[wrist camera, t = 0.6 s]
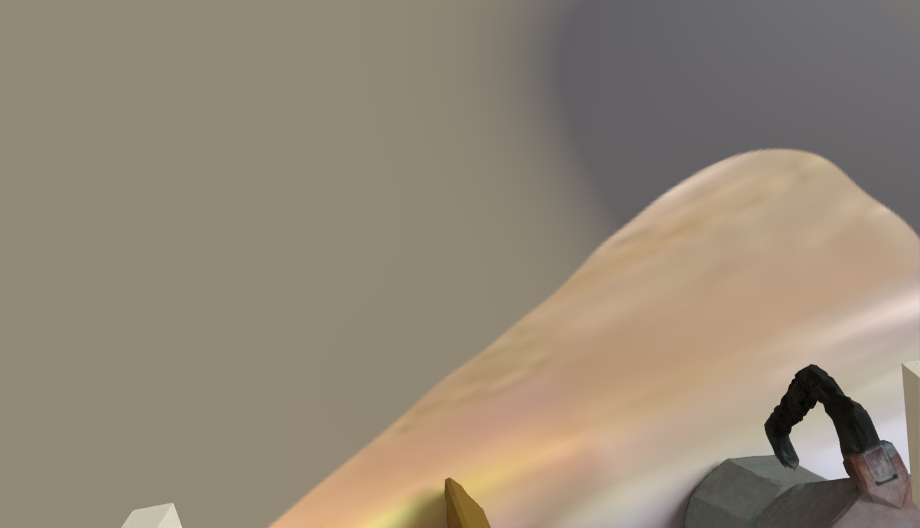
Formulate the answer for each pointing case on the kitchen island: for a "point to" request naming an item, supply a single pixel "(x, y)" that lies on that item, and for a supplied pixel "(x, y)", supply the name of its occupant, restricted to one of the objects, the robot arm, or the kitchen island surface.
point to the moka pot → (809, 473)
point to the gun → (462, 508)
